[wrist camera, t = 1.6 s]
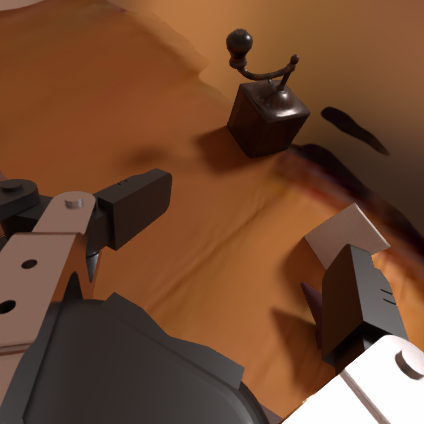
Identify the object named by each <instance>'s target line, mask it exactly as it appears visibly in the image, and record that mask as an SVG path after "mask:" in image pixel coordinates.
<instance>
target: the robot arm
mask: <svg viewBox="0 0 424 424" xmlns="http://www.w3.org/2000/svg"><path fill="white" fill-rule="evenodd" d="M171 186H172V175H171V174H170V173H168V172H165V171H163V170H160V169H158V168H155V169H153V170H151V171H149V172H147V173H145V174H140V175H134V176H131V177H129V178H127V179H125V180H124V181H120V182H118V183H117V184H114V185H112V186H110V187H108V188H105V189H103V190H101V191H99V192H97V193H95V194H92V195H91V194H89V193H86V192H80V191H72V192H66V193H62V194H60V195H57V196H56V197H54V198H53V197H48V196H43V195H39V192H38V188H37V185H36V184H35V183H34V182H32V181H29V180H24V179H11V180H9V179H8V178H7V177H6V176H5V175H4V174H3V173H2V172H1V171H0V236H1V235H3V234H5V236H3V237H1V238H0V424H270V423H269V420H268V418H267V416H266V414H265V412H264V411H263V409H262V407H261V405H260V404H259V402H258V401H257V399H256V398H255V396H254V395H253V393H252V392H251V391H250V390H249V388H248V387H247V386H246V385H245V384H244V383H243V382H242V381H241V379H242V375H243V372H244V367H242V366H241V365H239V364H237V363H235V362H234V361H232V360H230V359H228V358H227V357H225V356H223V355H222V354H220V353H218V352H216V351H215V350H213V349H211V348H210V347H207V346H203V345H200V344H196V343H192V342H188V341H185V340H181V339H177V338H173V337H170V336H169V335H167V334H166V333H165V332H164V331H163V330H162V329H161V328H160V327H159V326H158V325H157V324H156V322H155V321H154V320H153V319H152V318H151V317H150V316H149V315H148V314H147V313H146V312H145V311H144V310H143V309H142V308H141V307H139V306H137V305H136V304H134V303H132V302H130V301H129V300H127V299H125V298H123V297H122V296H120V295H118V294H117V293H115V292H114V293H113V294H112V295H111V296H110V297H109V298H108V299H107V300H106V301H104V300H96V299H93V292H94V286H95V282H96V277H97V273H98V268H99V264H100V259H101V255H102V251H101V249H102V248H104V247H105V246H107V247H109V248H111V249H113V250H115V251H117V250H118V249H119V248H121V247H122V246H123V245H124V244H126V243H127V242H128V241H129V240H131V239H132V238H133V237H134V236H136V235H137V234H138V233H139V232H141V231H142V230H143V229H145V228H146V227H147V226H148V225H150V224H151V223H152V222H153V221H155V220H156V219H157V218H158V217H160V216H161V215H162V214H163V213H165V211H166V210H167V208H168V206H169V203H170V195H171ZM392 294H393V293H392V290H391V287H390V284H389V282H388V280H387V279H386V278H385V276H384V275H383V274H382V272H381V271H380V270H379V269H377V268H374V265H373V261H372V258H371V254H370V252H369V251H366V250H364V249H361V248H359V247H356V246H353V245H351V244H346V245H345V246H344V247H343V248H342V249H341V251H340V252H339V254H338V255H337V256H336V258H335V259H334V260H333V262H332V263H331V265H330V266H329V267H328V269H327V270H326V272H325V274H324V277H323V281H322V360H323V361H325V362H327V363H328V364H330V365H332V366H334V367H335V374H336V375H335V376H334V377H332V378H331V379H330V380H329V381H328V382H326V383H325V384H324V385H323V386H322V387H321V388H319V389H318V390H317V391H316V392H315V393H313V394H312V395H311V396H310V397H309V398H308V399H306V400H305V401H304V402H303V403H302V404H300V405H299V406H298V407H297V408H296V409H294V410H293V411H292V412H291V413H290V414H288V415H287V416H286V417H285V418H284V419H282V420H281V421H280V422H279V423H278V424H424V353H423V352H422V351H420V350H419V349H418V348H417V347H416V346H414V345H413V344H411V343H410V342H409V340H408V337H407V334H406V331H405V328H404V325H403V322H402V319H401V316H400V313H399V310H398V307H397V306H396V302H395V299H394V296H392Z"/></svg>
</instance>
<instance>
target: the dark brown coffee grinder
mask: <svg viewBox="0 0 424 424" xmlns="http://www.w3.org/2000/svg"><path fill="white" fill-rule="evenodd" d="M252 43H253V40H252V36H251V35H250V34H249V33H248V32H247V31H246V30H244V29H236V30H234V31H233V32H231V33H230V34H229V35H228V37H227V39H226V45H227V49H228V51H229V52H230V54H231V58H230V60H229V64H230V66H231V67H232V68H235V69H237V70H238V71H239V72H240V73H241V74H242V75H243V76H244V77H246V78H248V79H250V80H255V81H257V82H252V83H243V84H240V86H239V89H238V92H237V96H236V99H235V102H234V105H233V108H232V112H231V115H230V118H229V121H228V123H227V125H228V128H229V130H230V132H231V134H232V135H233V137H234V138H235V140H236V141H237V143H238V144H239V146H240V147H241V149H242V150H243V151H244V152H245V153H246V154H247V156H248V157H249V158H257V157H261V156H265V155H268V154H272V153H275V152H279V151H282V150H285V149H287V148H288V147H289V145H290V144H291V142H292V140H293V139H294V137H295V136H296V134H297V133H298V132H299V130H300V128H301V127H302V126H303V124H304V123H305V121H306V119H307V118H308V117H309V115H310V111H309V110H308V109H307V107H306V106H305V105H304V104H303V103H302V102H301V101H300V100H299V98H298V97H297V96H296V95H295V94H294V93H293V92H292V91H291V89H290V88H289V87H288V86H287V85H286V82H287V80H288V78H289V76H290V74H291V72H293V71H294V70H295V67H296V64H297V63H298V61H299V56H298V55H296V54H294V55H293V56H292V57H291V60H290V63H289V64H288V65H287V66H286V67H285V68H283V69H281V70H278V71H277V72H273V73H267V74H252V73H249V72H248V71H247V70H246V69H245V68H244V67H245V66H246V64H247V61H246V54H247V53H248V51H249V50H250V49H251V48H252ZM283 75H284V77H283V79H282V80H272V78H276V77H280V76H283ZM267 79H268V80H267Z"/></svg>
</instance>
